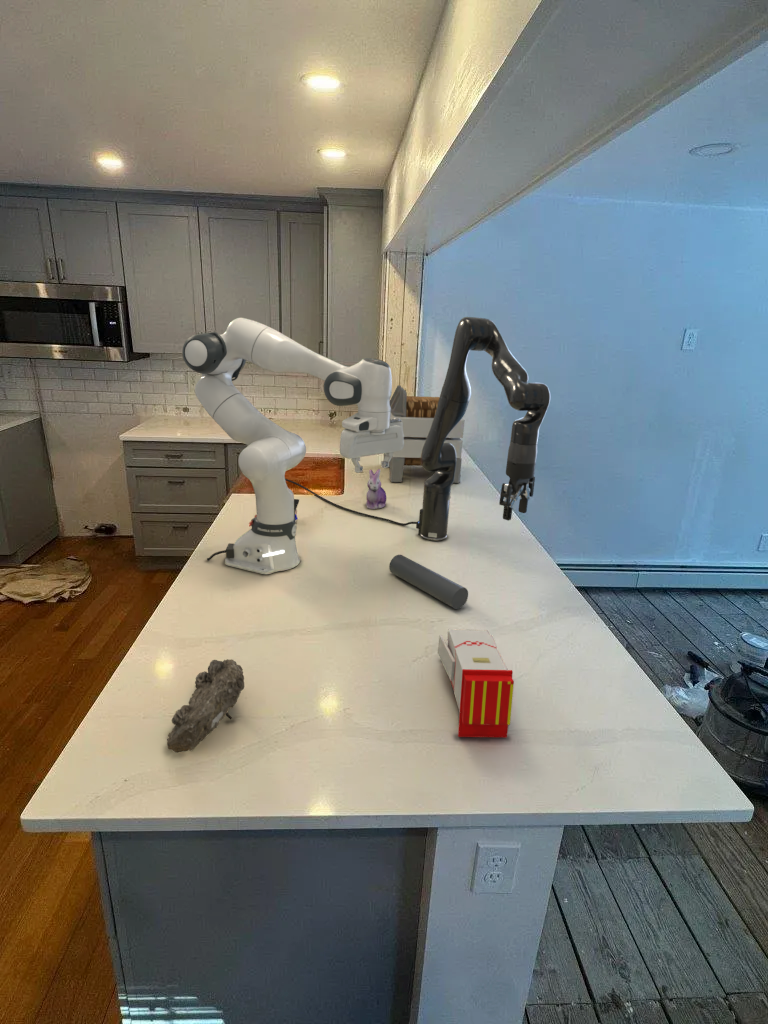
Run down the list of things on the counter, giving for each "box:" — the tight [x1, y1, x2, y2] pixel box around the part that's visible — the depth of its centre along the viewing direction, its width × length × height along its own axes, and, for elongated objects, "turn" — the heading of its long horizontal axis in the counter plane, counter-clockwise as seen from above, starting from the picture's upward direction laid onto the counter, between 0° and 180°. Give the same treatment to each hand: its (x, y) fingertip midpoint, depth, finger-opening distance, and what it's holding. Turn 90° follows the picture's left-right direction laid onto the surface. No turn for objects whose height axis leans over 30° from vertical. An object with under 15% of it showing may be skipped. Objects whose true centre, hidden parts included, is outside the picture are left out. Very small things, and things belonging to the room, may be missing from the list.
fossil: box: [166, 658, 245, 754], centre depth 106 cm, size 22×10×15 cm
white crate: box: [383, 384, 465, 484], centre depth 268 cm, size 34×33×41 cm
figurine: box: [365, 468, 387, 510], centre depth 224 cm, size 9×10×15 cm
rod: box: [388, 554, 469, 610], centre depth 160 cm, size 26×6×6 cm, turn 40°
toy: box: [437, 628, 515, 738], centre depth 117 cm, size 12×13×30 cm
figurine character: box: [294, 498, 300, 521], centre depth 203 cm, size 7×8×15 cm
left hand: (372, 469), depth 158 cm, fingers open, 8 cm apart
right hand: (514, 515), depth 157 cm, fingers open, 8 cm apart
